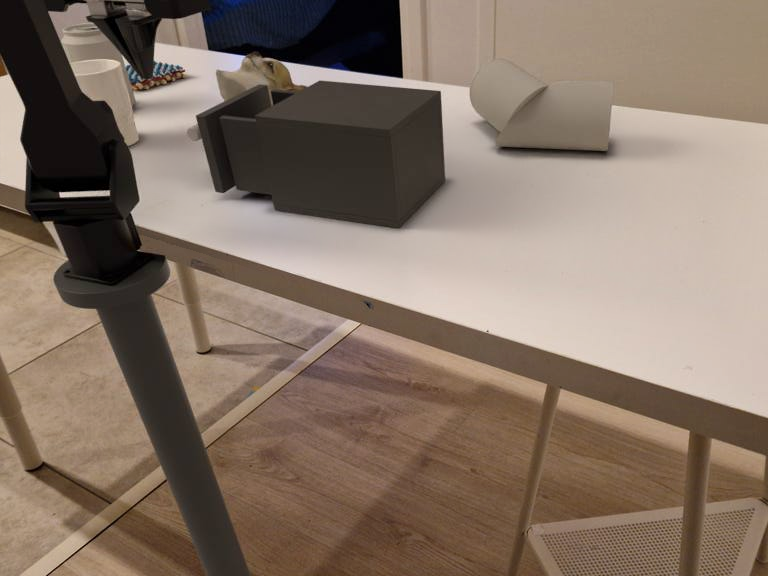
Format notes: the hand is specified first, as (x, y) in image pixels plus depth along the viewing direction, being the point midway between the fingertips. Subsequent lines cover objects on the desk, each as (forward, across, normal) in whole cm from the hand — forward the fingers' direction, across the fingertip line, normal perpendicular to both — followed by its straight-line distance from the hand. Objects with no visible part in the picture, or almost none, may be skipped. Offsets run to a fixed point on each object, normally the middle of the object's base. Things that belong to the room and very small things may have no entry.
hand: (147, 78), depth 84 cm
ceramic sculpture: (+11, +2, -25) cm, 28 cm away
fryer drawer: (+10, -16, 0) cm, 19 cm away
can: (+11, +26, -18) cm, 34 cm away
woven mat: (+11, +32, -33) cm, 47 cm away
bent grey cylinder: (+11, -41, -25) cm, 49 cm away
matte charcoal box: (+11, -27, 0) cm, 29 cm away
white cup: (+11, +15, -6) cm, 20 cm away
